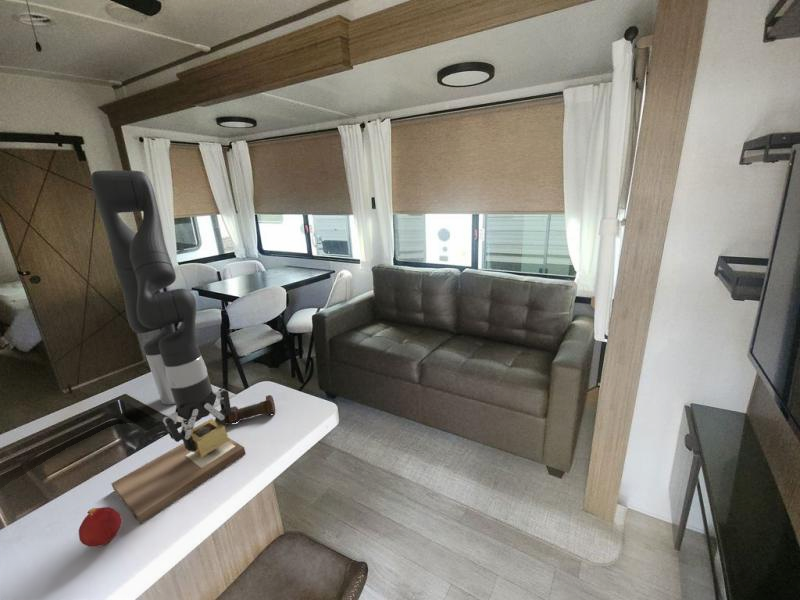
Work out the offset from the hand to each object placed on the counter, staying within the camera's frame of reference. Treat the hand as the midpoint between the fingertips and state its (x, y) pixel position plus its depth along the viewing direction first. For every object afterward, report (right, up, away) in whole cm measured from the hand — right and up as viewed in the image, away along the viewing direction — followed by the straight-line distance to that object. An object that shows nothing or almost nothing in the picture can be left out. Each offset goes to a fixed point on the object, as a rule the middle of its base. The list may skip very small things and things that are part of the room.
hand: (207, 441), depth 83 cm
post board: (-5, -6, -2) cm, 8 cm away
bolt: (+2, -1, +16) cm, 17 cm away
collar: (0, -1, 0) cm, 1 cm away
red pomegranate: (-8, -11, -18) cm, 23 cm away
